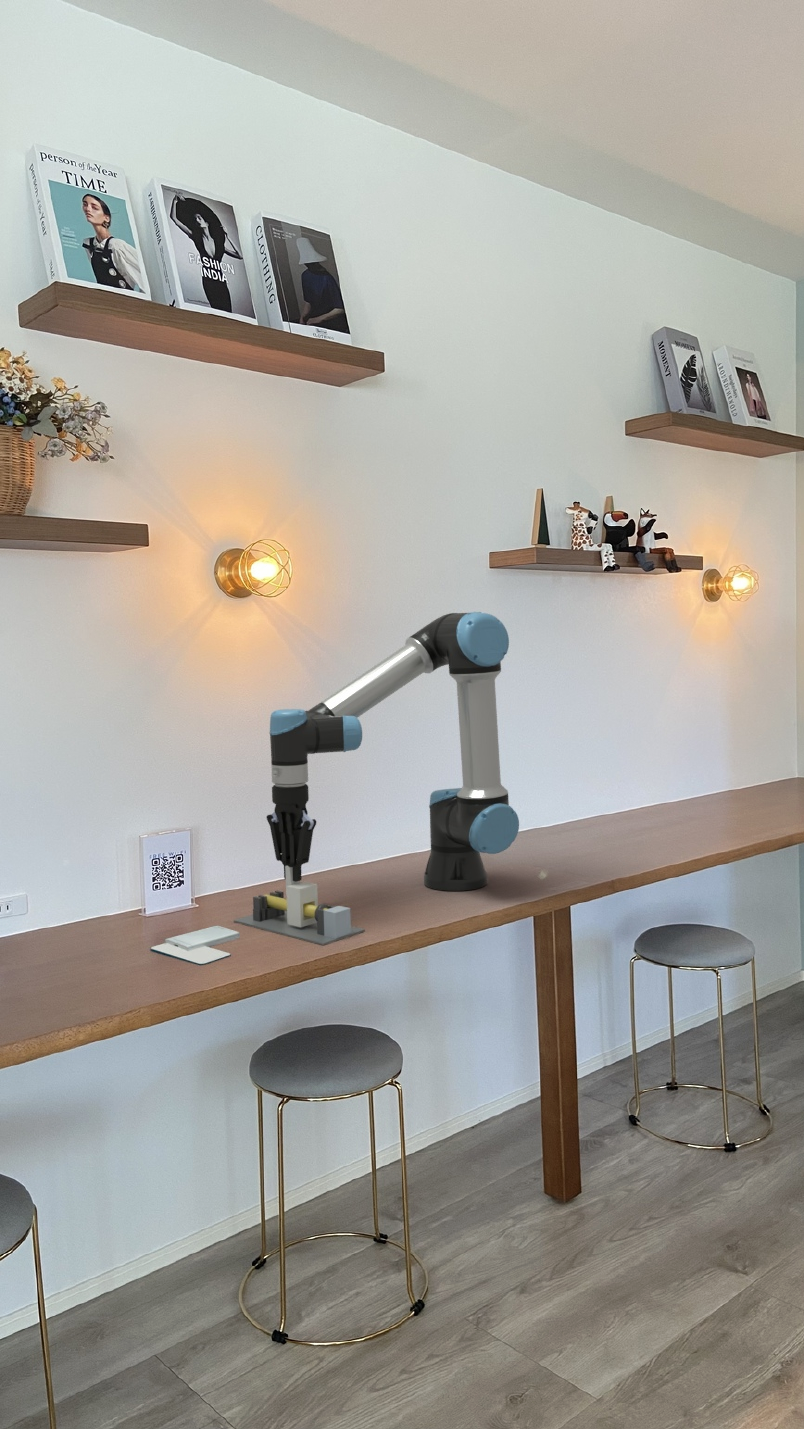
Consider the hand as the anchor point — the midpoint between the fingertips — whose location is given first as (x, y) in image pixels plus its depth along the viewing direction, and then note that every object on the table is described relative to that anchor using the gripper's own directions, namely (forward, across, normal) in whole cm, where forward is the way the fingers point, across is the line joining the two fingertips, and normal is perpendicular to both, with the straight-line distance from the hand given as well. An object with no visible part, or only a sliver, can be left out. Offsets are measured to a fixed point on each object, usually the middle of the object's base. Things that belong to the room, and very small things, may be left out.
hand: (293, 895), depth 222 cm
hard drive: (+7, -7, -19) cm, 21 cm away
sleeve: (+5, +3, 0) cm, 6 cm away
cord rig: (+6, +1, 0) cm, 7 cm away
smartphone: (+7, -2, -25) cm, 26 cm away
